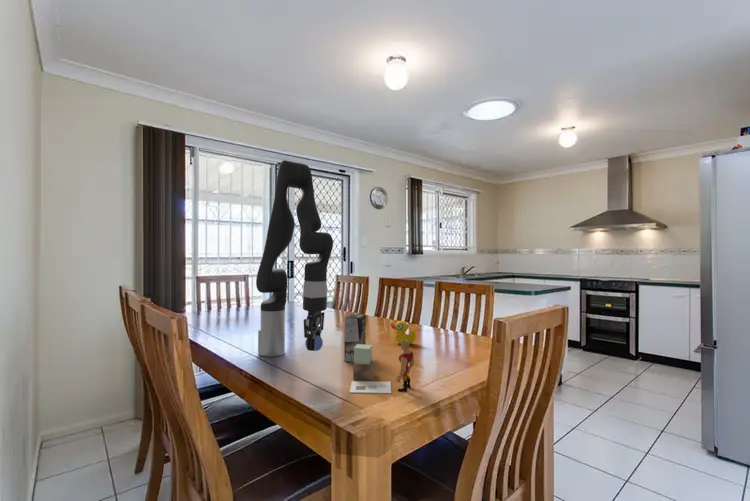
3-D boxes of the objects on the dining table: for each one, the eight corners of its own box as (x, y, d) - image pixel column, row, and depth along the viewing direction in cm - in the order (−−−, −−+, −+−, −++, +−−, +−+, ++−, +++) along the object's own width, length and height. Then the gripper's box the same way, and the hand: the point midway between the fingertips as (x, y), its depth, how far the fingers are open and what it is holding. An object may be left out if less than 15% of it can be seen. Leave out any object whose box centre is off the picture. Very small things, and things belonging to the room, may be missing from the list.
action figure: (404, 382, 120) (404, 334, 120) (415, 384, 118) (415, 335, 118) (393, 393, 111) (393, 341, 111) (405, 395, 110) (405, 342, 110)
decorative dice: (314, 346, 126) (314, 334, 126) (322, 349, 124) (323, 336, 124) (305, 349, 123) (305, 336, 123) (313, 351, 121) (313, 339, 121)
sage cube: (353, 363, 123) (353, 348, 123) (357, 359, 128) (357, 344, 128) (369, 364, 122) (369, 348, 122) (371, 360, 127) (372, 345, 127)
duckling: (388, 344, 168) (388, 321, 168) (392, 341, 174) (392, 319, 173) (414, 346, 165) (414, 323, 164) (417, 343, 170) (417, 320, 170)
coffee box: (360, 362, 141) (361, 318, 141) (343, 361, 142) (343, 317, 142) (366, 355, 150) (366, 314, 150) (350, 354, 151) (350, 313, 151)
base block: (353, 380, 122) (353, 364, 122) (356, 373, 128) (356, 358, 128) (371, 381, 122) (372, 365, 122) (374, 374, 128) (374, 359, 128)
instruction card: (349, 393, 111) (349, 391, 111) (352, 382, 120) (352, 381, 120) (391, 393, 111) (391, 392, 111) (390, 382, 120) (390, 381, 120)
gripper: (311, 291, 131) (310, 341, 131) (295, 297, 117) (294, 353, 117) (332, 292, 130) (331, 342, 130) (319, 298, 115) (318, 354, 116)
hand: (313, 347), depth 124 cm, fingers closed on decorative dice, 5 cm apart
